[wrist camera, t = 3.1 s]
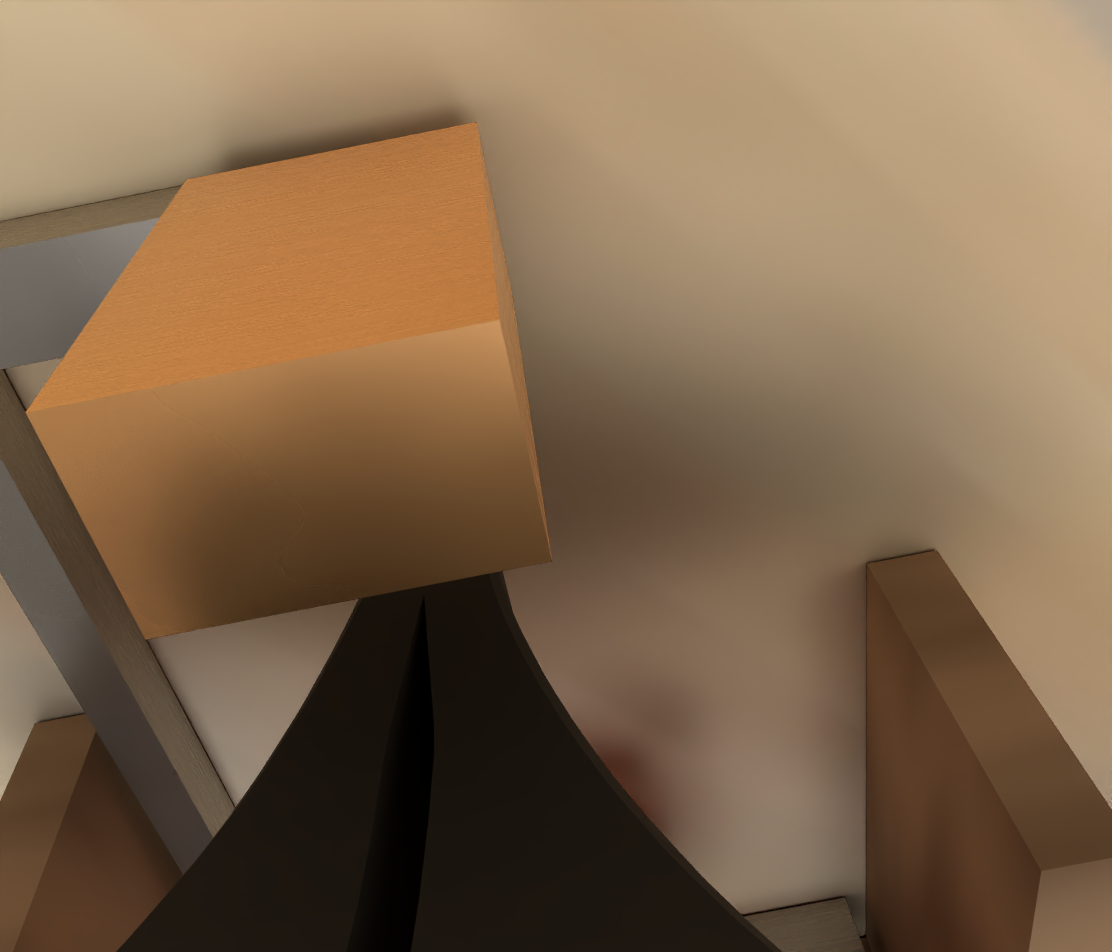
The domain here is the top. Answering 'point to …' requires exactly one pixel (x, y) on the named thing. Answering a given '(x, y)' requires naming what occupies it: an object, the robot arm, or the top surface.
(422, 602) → the robot arm
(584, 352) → the top surface
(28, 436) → the pull bar
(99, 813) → the shelf lane
